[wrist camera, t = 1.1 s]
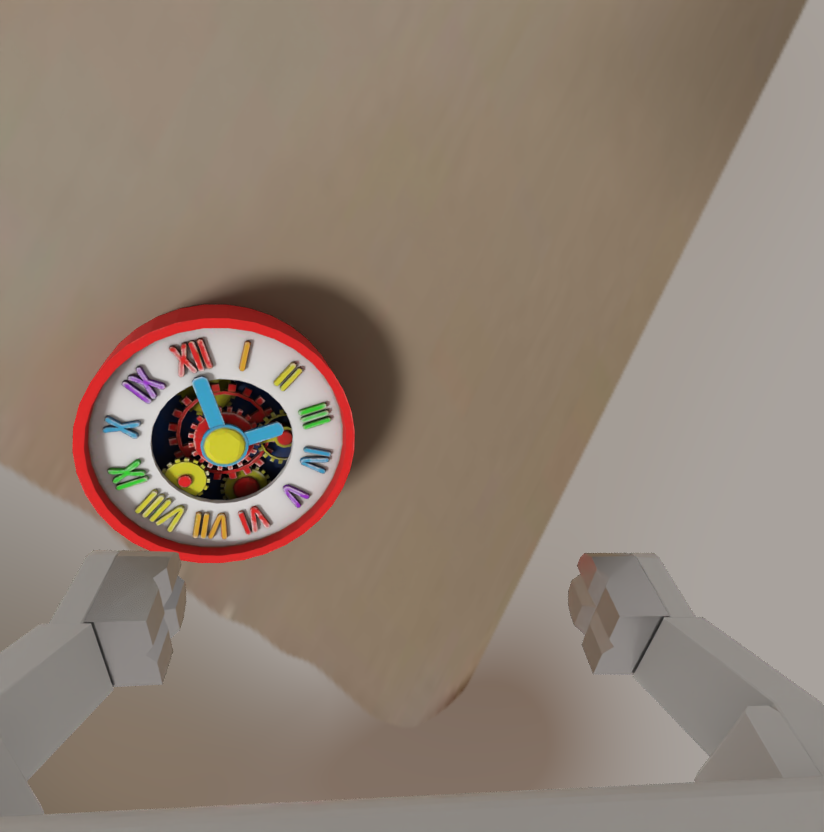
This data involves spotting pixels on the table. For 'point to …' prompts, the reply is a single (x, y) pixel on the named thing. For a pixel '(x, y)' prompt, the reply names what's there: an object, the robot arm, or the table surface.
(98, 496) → the toy clock
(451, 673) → the table surface
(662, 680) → the robot arm
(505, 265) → the table surface
